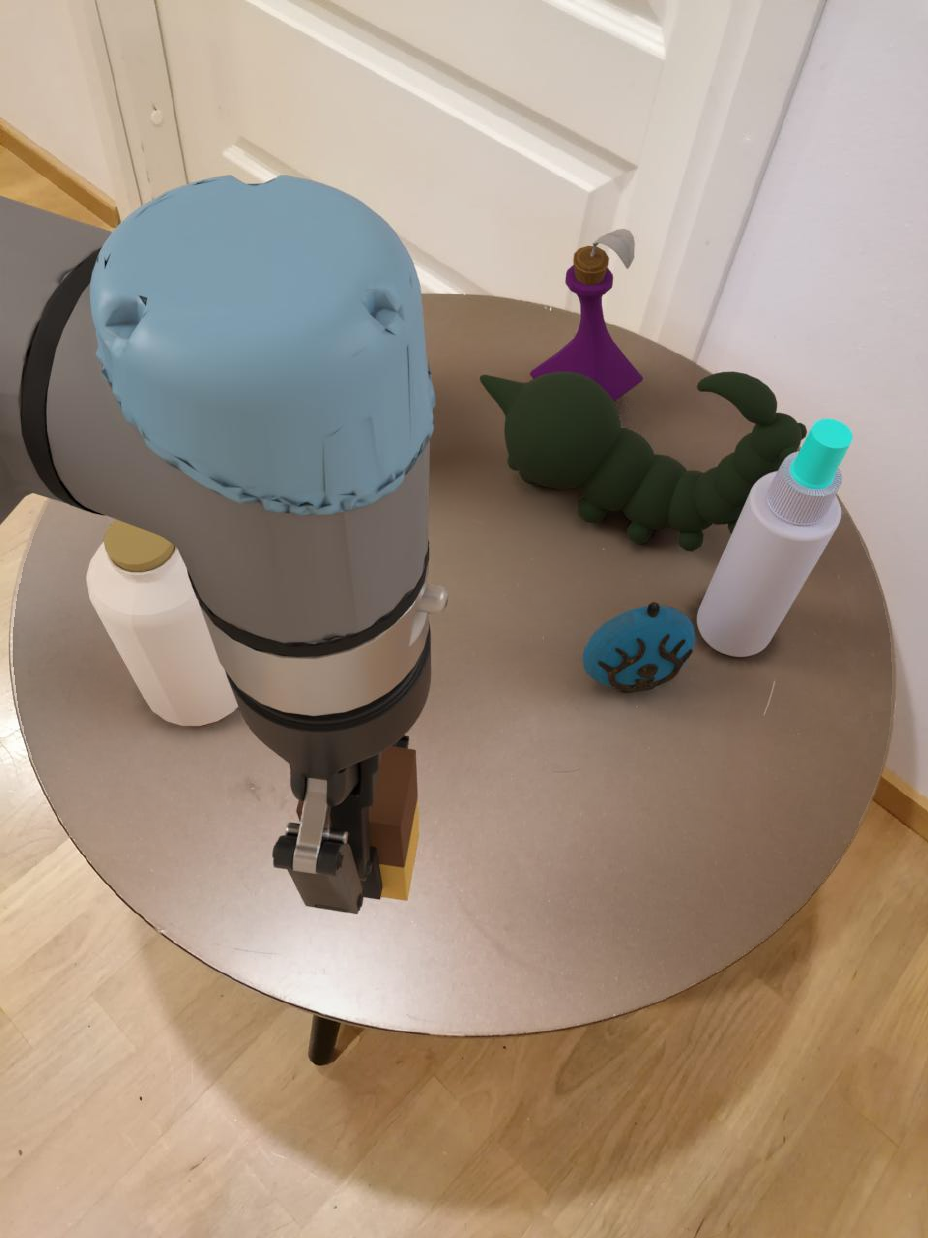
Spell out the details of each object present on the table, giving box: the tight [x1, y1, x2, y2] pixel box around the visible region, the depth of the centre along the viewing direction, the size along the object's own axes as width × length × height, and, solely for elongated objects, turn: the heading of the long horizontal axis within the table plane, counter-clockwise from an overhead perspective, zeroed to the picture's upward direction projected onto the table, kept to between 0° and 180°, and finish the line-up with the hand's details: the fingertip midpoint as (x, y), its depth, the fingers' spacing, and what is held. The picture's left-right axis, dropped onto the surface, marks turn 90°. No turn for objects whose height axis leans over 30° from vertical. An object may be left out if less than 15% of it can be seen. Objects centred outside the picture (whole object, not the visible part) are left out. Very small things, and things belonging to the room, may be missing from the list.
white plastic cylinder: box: [85, 519, 239, 727], centre depth 63 cm, size 8×8×18 cm
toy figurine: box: [479, 371, 808, 553], centre depth 74 cm, size 9×19×25 cm
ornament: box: [582, 601, 696, 694], centre depth 68 cm, size 8×5×10 cm, turn 100°
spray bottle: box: [696, 418, 854, 658], centre depth 66 cm, size 6×6×22 cm
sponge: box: [295, 746, 420, 902], centre depth 50 cm, size 4×5×12 cm
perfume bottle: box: [529, 228, 644, 403], centre depth 80 cm, size 8×8×18 cm
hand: (365, 848), depth 53 cm, fingers closed on sponge, 4 cm apart
